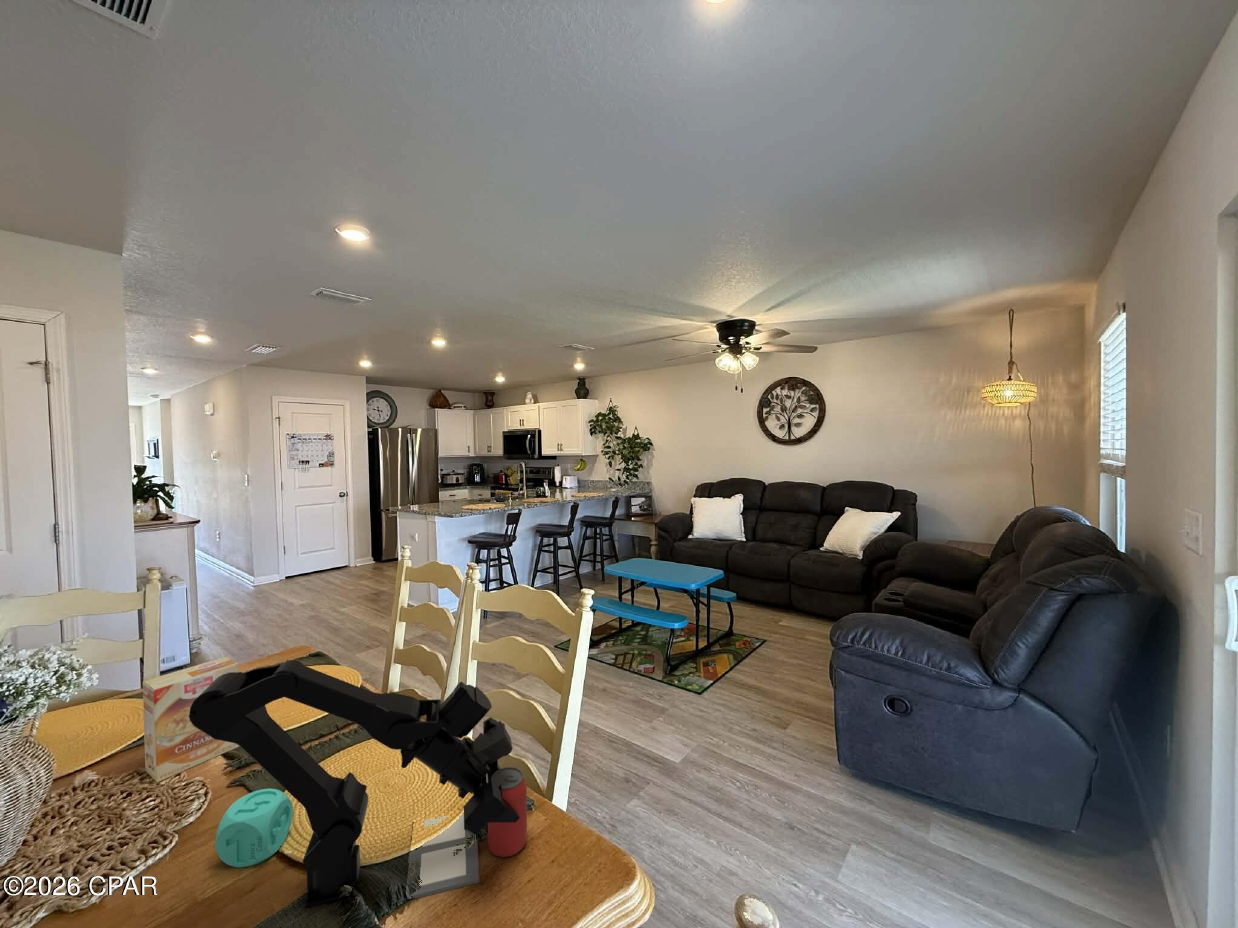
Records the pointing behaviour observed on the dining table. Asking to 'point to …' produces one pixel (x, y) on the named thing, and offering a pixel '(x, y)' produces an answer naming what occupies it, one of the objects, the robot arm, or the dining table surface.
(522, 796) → the beer can
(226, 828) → the decorative dice
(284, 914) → the dining table surface
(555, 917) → the dining table surface
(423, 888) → the label board
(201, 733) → the coffeecake box
